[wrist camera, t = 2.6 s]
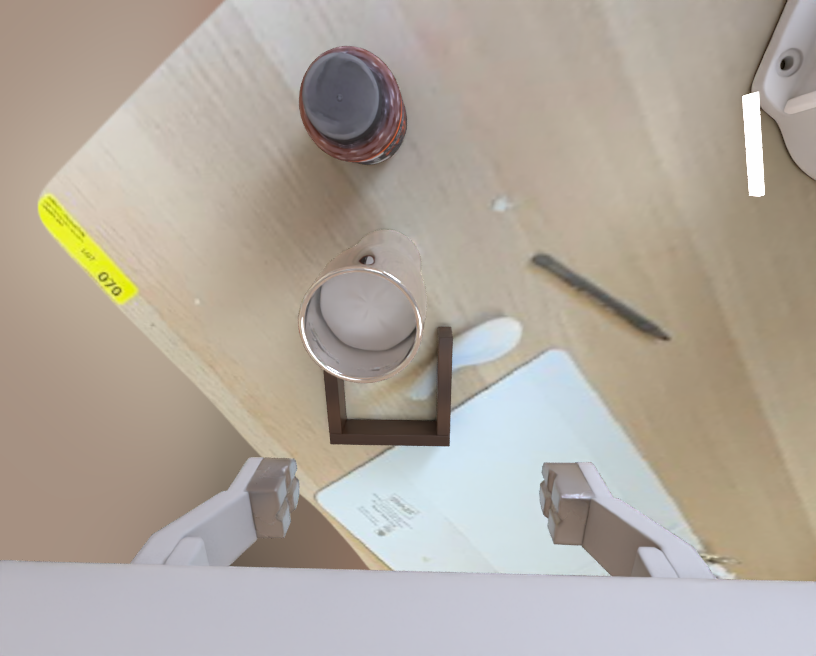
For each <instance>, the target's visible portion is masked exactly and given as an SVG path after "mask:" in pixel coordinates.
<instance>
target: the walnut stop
mask: <svg viewBox="0 0 816 656" xmlns="http://www.w3.org/2000/svg"><path fill="white" fill-rule="evenodd" d="M452 346H453V336H452V330H451V327H438V355H437V418H436V421H416V420H349V419H346V406H345V393H344V380H343V379H340V378H337V377H335V376H333V375H331V374H330V373H328V372H326V371H325V370H324V369H323V371H324V381H325V391H326V402H327V412H328V422H329V433H330V444H346V445H402V446H450V412H451V379H452Z"/></svg>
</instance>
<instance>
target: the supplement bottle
mask: <svg viewBox="0 0 816 656" xmlns="http://www.w3.org/2000/svg"><path fill="white" fill-rule="evenodd" d="M299 109H300V114H301V118H302V121H303V124H304V126H305V129H306V131H307V132H308V134H309V136H310V137H311V139H312V140H313V141H314V142H315V144H316V145H317V146H318V147H319V148H320V149H321V150H323V151H324V152H325V153H327V154H328V155H330V156H332V157H334V158H337V159H339V160H343V161H347V162H353V163H359V164H365V165H371V164H376V163H380V162H382V161H385V160H386V159H388V158H389V157H391V156H392V155H393V154H394V153H395V152H396V151H397V150H398V148H399V147H400V145H401V143H402V141H403V139H404V136H405V133H406V129H407V116H406V110H405V106H404V103H403V100H402V96H401V93H400V90H399V87H398V84H397V82H396V79H395V78H394V76H393V74H392V72H391V71H390V70H389V68H388V67H387V66H386V64H385V63H384V62H383V61H382V60H381V59H379V58H378V57H377V56H375V55H374V54H372V53H371V52H369V51H367V50H365V49H362V48H358V47H353V46H342V47H336V48H333V49H331V50H328V51H326V52H324V53H322V54H321V55H320V56H318V57H317V58H316V59H315V60H314V62H312V63H311V65H310V66H309V68H308V69H307V71H306V73H305V75H304V77H303V80H302V83H301V87H300V93H299Z"/></svg>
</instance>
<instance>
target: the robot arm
mask: <svg viewBox="0 0 816 656" xmlns="http://www.w3.org/2000/svg"><path fill="white" fill-rule="evenodd" d="M783 59H784V60H785V67H784V69H783V70H782V69H781V68H780V63H781V61H782V60H783ZM751 92H752V93H751V94H747V95H744V96H742V98H743V112H744V126H745V141H746V155H747V169H748V184H749V195H751V196H762V195H765V193H764V176H763V158H762V141H761V124H760V107H761V108H762V109H763V110H764V111H765V112H766V113H767V114H769V115H770V116H771V117H772V118H773V119H775V120H776V122H777V124H778V125H779V128H780V130H781V133H782V135H783V138H784V141H785V144H786V147H787V149H788V151H789V153H790V155H791V157H792V158H793V160H794V161H795V163H796V164H797V165H798V166H799V168H800V169H801V170H802V171H804V172H805V173H806V174H807V175H808V176H810V177H811V178H813V179H815V180H816V0H788V1H787V3H786V6H785V8H784V10H783V13H782V15H781V17H780V20H779V22H778V24H777V27H776V29H775V31H774V34H773V36H772V38H771V40H770V43H769V45H768V47H767V50H766V52H765V54H764V57H763V59H762V61H761V64H760V66H759V68H758V71H757V73H756V75H755V78H754V80H753V83H752V88H751ZM296 471H297V465H296V460H295V459H290V458H256V457H250V458H249V459H247V460H246V462H245V463H244V465H243V467H242V468H241V470H240V471H239V473H238V475H237V476H236V478H235V479H234V481H233V482H232V484H231V486H230V487H229V489H228V490H227V491H222V492H220V493H219V494H217V495H215V496H214V497H212V498H211V499H209V500H207V501H206V502H204V503H202V504H201V505H199V506H198V507H196V508H194V509H193V510H191V511H189V512H188V513H186V514H185V515H183V516H181V517H180V518H178V519H176V520H175V521H173V522H172V523H170V524H168V525H167V526H165V527H163V528H162V529H160V530H158V531H157V532H156V533H154V534H152V535H151V537H150V538H149V539H148V541H147V542H146V543H145V544H144V546H143V547H142V548H141V550H140V551H139V552H138V554H137V555H136V556H135V558H134V559H133V560H132V562H131V563H130V564H115V563H76V562H75V563H74V562H40V561H14V560H0V656H816V581H779V580H739V579H717V578H716V577H715V576H714V574H713V573H712V572H711V570H710V569H709V567H708V566H707V565H706V563H705V562H704V561H703V559H702V558H701V556H700V555H699V554H698V552H697V551H696V549H695V548H694V547H693V546H691V545H690V544H688V543H687V542H685V541H684V540H682V539H681V538H679V537H677V536H676V535H674V534H673V533H671V532H670V531H668V530H667V529H665V528H664V527H662V526H661V525H659V524H657V523H656V522H654V521H653V520H651V519H650V518H648V517H647V516H645V515H644V514H642V513H641V512H639V511H637V510H636V509H634V508H633V507H631V506H630V505H628V504H627V503H625V502H624V501H622V500H621V499H619V498H614V497H613V496H612V494H611V492H610V491H609V489H608V487H607V486H606V484H605V482H604V481H603V479H602V477H601V475H600V474H599V472H598V470H597V469H596V467H595V465H594V464H593V463H591V462H575V463H544V464H543V466H542V475H543V478H544V481H543V482H542V483H541V484H540V491H539V495H540V505H541V509H542V512H543V515H544V516H545V517H547V518H548V529H549V532H550V535H551V537H552V540H553V543H554V544H562V545H581V546H582V547H583V548H584V549H585V550H586V551H587V552H588V553H589V554H590V555H591V556H592V557H593V558H594V559H595V560H596V561H597V562H598V563H599V564H600V565H601V566H602V567H603V568H604V569H605V570H606V571H607V572H608V573H609V574H610V575H611V576H582V575H541V574H503V573H466V572H425V571H384V570H346V569H343V570H342V569H307V568H268V567H231V566H229V565H231V564H232V563H233V561H235V560H236V559H237V558H238V557H239V556H240V555H241V554H242V553H243V552H244V551H246V550H247V549H248V548H249V547H250V546H251V545H252V544H253V543H254V542H255V541H256V540H257V538H284V537H285V534H286V532H287V529H288V527H289V524H290V522H291V519H290V513H291V512H293V511H294V510H295V509H296V506H297V503H298V498H299V480H298V479H297V478H296V477H295V476H294V475H295V473H296Z"/></svg>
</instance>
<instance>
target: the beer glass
mask: <svg viewBox="0 0 816 656" xmlns="http://www.w3.org/2000/svg"><path fill="white" fill-rule="evenodd" d="M421 269H422V262H421V256H420V253H419V250H418V248H417V247H416V245H415V244H414V243H413V241H412V240H411V239H410V238H408V237H407V236H406V235H404V234H402V233H400V232H398V231H395V230H390V229H381V230H376V231H373V232H371V233H369V234H367V235H365V236H364V237H363V238H362V239H361V240H360V241H359V242H358V243H357V245H356V246H353V247H351V248H348V249H346V250H344V251H343V252H341V253H340V254H339V255H337V256H336V257H335V258H333V259H332V260H331V261H330V262H329V263H328V264H327V265H326V266H325V267H324V269H323V270H322V271H321V272H320V273H319V275H318V276H317V278H316V279H315V281H314V282H313V284H312V285H311V287H310V288H309V289H308V291H307V292H306V294H305V296H304V298H303V300H302V302H301V305H300V309H299V315H298V327H299V333H300V337H301V340H302V343H303V345H304V347H305V349H306V351H307V352H308V354H309V355H310V357H311V358H312V359H313V360H314V361H315V362H316V363H317V364H318V365H319V366H320V367H321V368H322V369H324V370H325V371H326V372H328V373H330V374H331V375H333V376H335V377H337V378H340V379H343V380H346V381H350V382H356V383H373V382H378V381H382V380H385V379H388V378H390V377H392V376H394V375H396V374H398V373H399V372H401V371H402V370H403V369H404V368H406V367H407V366H408V365H409V363H410V362H411V361H412V360H413V358H414V357H415V355H416V354H417V352H418V350H419V347H420V344H421V341H422V336H423V329H424V325H425V320H426V313H427V295H426V287H425V283H424V280H423V278H422V275H421Z"/></svg>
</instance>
